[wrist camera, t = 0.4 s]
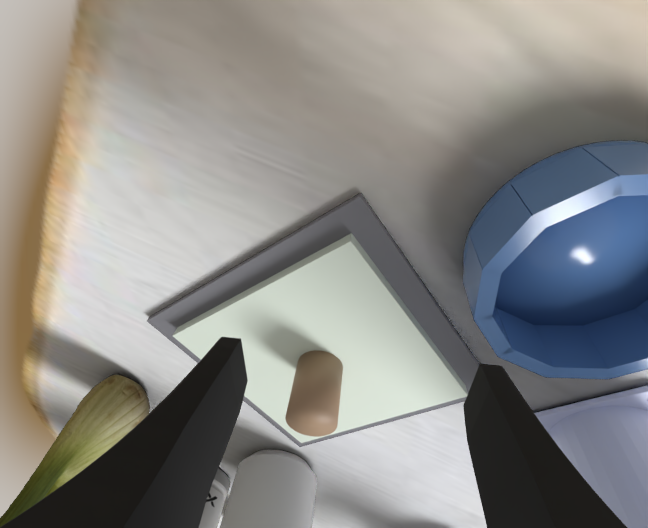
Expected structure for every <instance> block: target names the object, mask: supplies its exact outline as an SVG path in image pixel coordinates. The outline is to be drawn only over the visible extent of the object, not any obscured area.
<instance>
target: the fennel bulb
mask: <svg viewBox="0 0 648 528" xmlns="http://www.w3.org/2000/svg"><path fill="white" fill-rule="evenodd" d="M149 409H150V404H149V400H148V397H147V395H146V393H145V391H144V389H143V388H142V387H141V386H140V385H139V384H138V383H136V382H135V381H133V380H130V379H129V378H127V377H124V376H121V375H111V376H110V377H108V378H106V379H104V380H103V381H102V382H100V383H99V384H97V385H96V386H95V387H94V388H93V389H92V390H91V391H90V392H89V393H88V394H87V395H86V396H85V397H84V398H83V400H82V401H81V402H80V404H79V405H78V407H77V409H76V411H75V412H74V413H73V415H72V417H71V418H70V420H69V421H68V422H67V424H66V425H65V427H64V428H63V430H62V431H61V433H60V434H59V436H58V437H57V439H56V441H55V442H54V443H53V445H52V446H51V448H50V449H49V451H48V452H47V454H46V455H45V457H44V458H43V460H42V462H41V463H40V465H39V466H38V468H37V469H36V471H35V472H34V473H33V475H32V476H31V477H30V480H29V481H28V482H27V483H26V485H25V486H24V488H23V490H22V491H21V492H20V494H19V495H18V496H17V498H16V499H15V500H14V501H13V503H12V504H11V505H10V507H9V509H8V510H7V511H6V512H5V513H4V515H3V516H2V517H1V518H0V527H1V526H3V525H4V524H6V523H7V522H9V521H11V520H12V519H14V518H15V517H17V516H18V515H20V514H21V513H23V512H24V511H26V510H27V509H29V508H30V507H32V506H33V505H35V504H36V503H38V502H39V501H40V500H42V499H43V498H45V497H46V496H48V495H49V494H50V493H52V492H53V491H55V490H56V489H58V488H59V487H60V486H62V485H63V484H65V483H66V482H68V481H69V480H70V479H72V478H73V477H74V476H76V475H77V474H78V473H80V472H81V471H82V470H84V469H85V468H86V467H87V466H89V465H90V464H91V463H92V462H94V461H95V460H96V459H98V458H99V457H100V456H101V455H103V454H104V453H105V452H106V451H108V450H109V449H110V448H111V447H112V446H114V445H115V444H116V443H117V442H118V441H120V440H121V439H122V438H123V437H124V436H125V435H127V434H128V433H129V432H130V431H131V430H132V429H133V428H134V427H136V426H137V425H138V424H139V423H140V422H141V421H142V420H143V419H144V418H145V417H146V416H147V415H148V414H149Z"/></svg>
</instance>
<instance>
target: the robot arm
mask: <svg viewBox="0 0 648 528" xmlns="http://www.w3.org/2000/svg"><path fill="white" fill-rule="evenodd" d="M247 382H248V379H247V373H246V367H245V360H244V354H243V348H242V342H241V339H240V338H230V337H221V338H220V339H219V340H218V341H217V342H216V343H215V344H214V346H213V347H212V348H211V349H210V350H209V351H208V353H207V354H206V355H205V356H204V357H203V358H202V359H201V361H200V362H199V363H198V364H197V365H196V366H195V367H194V368H193V369H192V371H191V372H190V373H189V374H188V375H187V376H186V377H185V378H184V379H183V380H182V381H181V382H180V383H179V384H178V386H177V387H176V388H175V389H174V390H173V391H172V392H171V393H170V394H169V395H168V396H167V397H166V398H165V399H164V400H163V401H162V402H161V403H160V404H159V405H158V406H157V407H156V408H155V409H154V410H153V411H152V412H151V413H150V414H148V415H147V416H146V417H145V418H144V419H143V420H142V421H141V422H140V423H139V424H138V425H137V426H136V427H134V428H133V429H132V430H131V431H130V432H129V433H128V434H127V435H125V436H124V437H123V438H122V439H121V440H120V441H118V442H117V443H116V444H115V445H114V446H112V447H111V448H110V449H109V450H108V451H106V452H105V453H104V454H103V455H101V456H100V457H99V458H98V459H96V460H95V461H94V462H92V463H91V464H90V465H89V466H87V467H86V468H85V469H84V470H82V471H81V472H80V473H78V474H77V475H76V476H74V477H73V478H72V479H70V480H69V481H68V482H66V483H65V484H63V485H62V486H60V487H59V488H58V489H56V490H55V491H53V492H52V493H50V494H49V495H48V496H46V497H45V498H43V499H42V500H40V501H39V502H38V503H36V504H35V505H33V506H32V507H30V508H29V509H27V510H26V511H24V512H23V513H21V514H20V515H18V516H17V517H15V518H14V519H12V520H11V521H9V522H7V523H6V524H4V525H3V526H1V527H0V528H199V525H200V521H201V518H202V514H203V511H204V507H205V504H206V500H207V497H208V494H209V492H210V489H211V486H212V483H213V480H214V478H215V475H216V473H217V470H218V467H219V465H220V462H221V460H222V457H223V454H224V452H225V449H226V447H227V444H228V441H229V439H230V436H231V434H232V431H233V428H234V426H235V423H236V420H237V418H238V415H239V412H240V409H241V405H242V401H243V398H244V394H245V390H246V386H247ZM464 415H465V425H466V433H467V441H468V446H469V450H470V455H471V459H472V463H473V468H474V472H475V476H476V481H477V485H478V489H479V494H480V498H481V502H482V506H483V511H484V515H485V519H486V524H487V528H648V386H643V387H639V388H635V389H630V390H626V391H622V392H618V393H614V394H610V395H606V396H602V397H598V398H594V399H590V400H585V401H581V402H577V403H573V404H569V405H565V406H561V407H557V408H553V409H549V410H545V411H540V412H536V413H534V412H533V411H532V410H531V408H530V407H529V405H528V404H527V402H526V401H525V400H524V398H523V397H522V395H521V394H520V392H519V391H518V389H517V388H516V386H515V385H514V383H513V382H512V380H511V379H510V377H509V376H508V374H507V373H506V371H505V370H504V369H503V367H502V366H497V365H488V364H479V367H478V369H477V372H476V375H475V377H474V380H473V382H472V385H471V388H470V390H469V393H468V395H467V398H466V400H465V403H464Z"/></svg>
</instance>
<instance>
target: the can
mask: <svg viewBox="0 0 648 528" xmlns="http://www.w3.org/2000/svg"><path fill="white" fill-rule="evenodd" d="M316 489H317V478H316V475H315V474H314V472H313V471H312V470H311V469H310V467H309V465H308V464H307V463H306V461H305V460H303V459H302V458H300V457H299V456H297V455H294V454H292V453H289V452H285V451H281V450H271V449H268V450H260V451H258V452H255V453H253V454H252V455H251V456H249V457H247V458H245V459H243V460H242V461H241V462H240V463H239V466H238V469H237V472H236V476H235V479H234V482H233V486H232V489H231V492H230V496H229V499H228V502H227V506H226V509H225V512H224V516H223V519H222V522H221V526H220V528H312V521H313V513H314V505H315V497H316Z"/></svg>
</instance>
